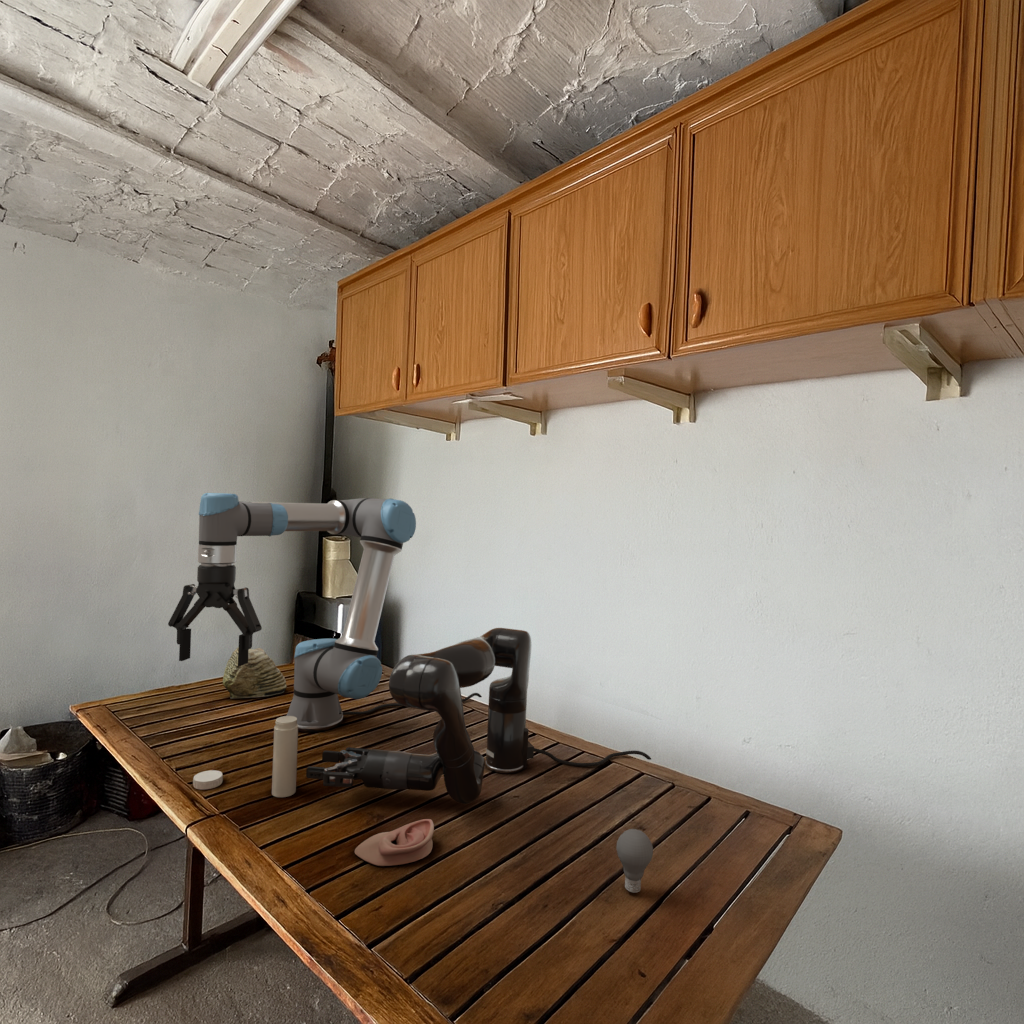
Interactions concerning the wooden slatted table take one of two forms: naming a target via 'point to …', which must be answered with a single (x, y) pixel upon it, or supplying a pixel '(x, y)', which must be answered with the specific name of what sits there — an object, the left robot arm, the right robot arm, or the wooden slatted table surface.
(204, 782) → the lid
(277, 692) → the fossil
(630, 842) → the light bulb
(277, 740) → the jar
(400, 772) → the right robot arm
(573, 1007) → the wooden slatted table surface
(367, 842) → the anatomical model
